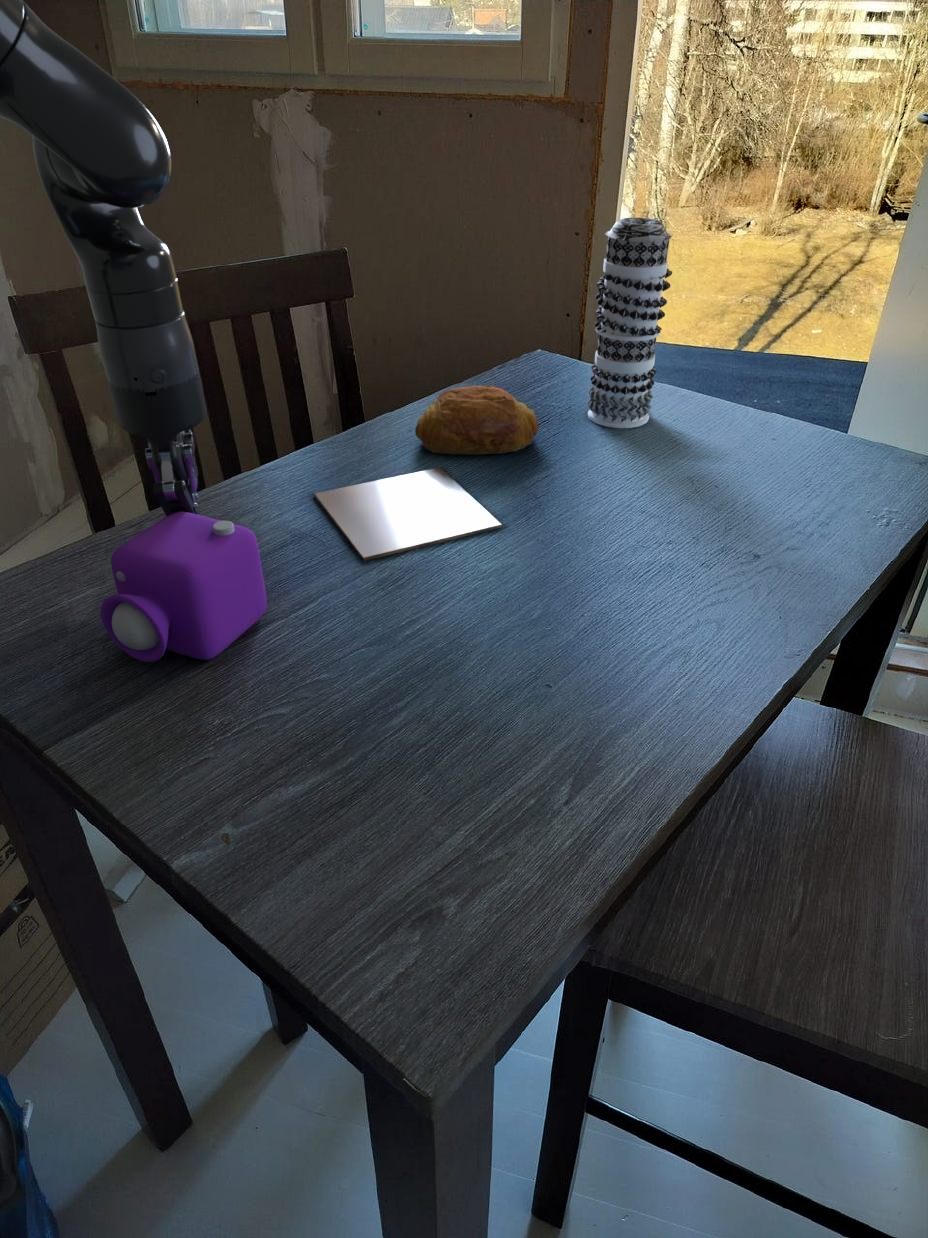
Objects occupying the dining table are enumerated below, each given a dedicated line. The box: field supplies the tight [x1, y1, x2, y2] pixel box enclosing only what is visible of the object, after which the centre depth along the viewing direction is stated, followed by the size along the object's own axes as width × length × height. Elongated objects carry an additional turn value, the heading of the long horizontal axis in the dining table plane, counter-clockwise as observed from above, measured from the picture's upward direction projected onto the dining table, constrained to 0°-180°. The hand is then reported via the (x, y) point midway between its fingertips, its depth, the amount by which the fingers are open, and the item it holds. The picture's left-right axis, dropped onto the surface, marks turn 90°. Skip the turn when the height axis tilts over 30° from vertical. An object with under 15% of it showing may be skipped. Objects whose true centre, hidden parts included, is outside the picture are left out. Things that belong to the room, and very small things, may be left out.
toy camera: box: [100, 512, 268, 663], centre depth 73 cm, size 11×14×10 cm
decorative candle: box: [587, 217, 673, 429], centre depth 111 cm, size 9×9×25 cm
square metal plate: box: [313, 466, 503, 562], centre depth 95 cm, size 16×16×1 cm
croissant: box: [414, 384, 539, 455], centre depth 110 cm, size 14×16×8 cm
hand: (192, 541), depth 83 cm, fingers closed
